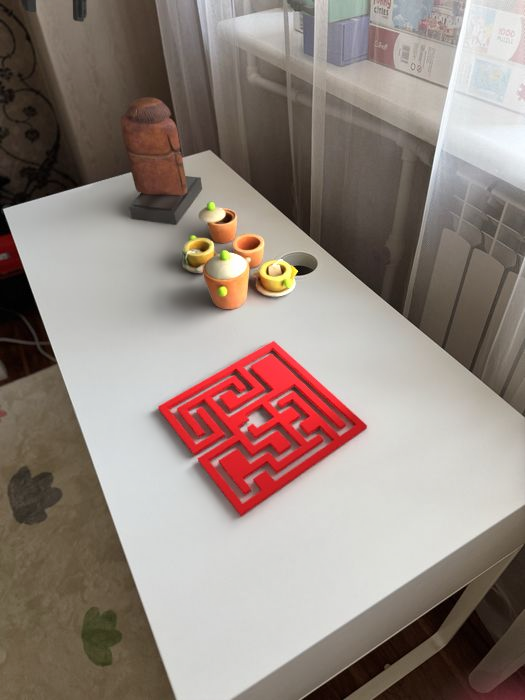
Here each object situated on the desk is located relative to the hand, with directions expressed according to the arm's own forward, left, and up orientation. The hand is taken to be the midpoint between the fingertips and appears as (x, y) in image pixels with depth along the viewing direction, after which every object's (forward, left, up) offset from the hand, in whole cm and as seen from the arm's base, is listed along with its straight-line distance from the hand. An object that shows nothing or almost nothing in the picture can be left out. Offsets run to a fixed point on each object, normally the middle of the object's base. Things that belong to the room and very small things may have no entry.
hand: (54, 16), depth 87 cm
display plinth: (+12, +3, -35) cm, 37 cm away
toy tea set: (+32, -14, -35) cm, 49 cm away
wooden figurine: (+11, +4, -32) cm, 34 cm away
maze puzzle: (+47, -45, -35) cm, 73 cm away
